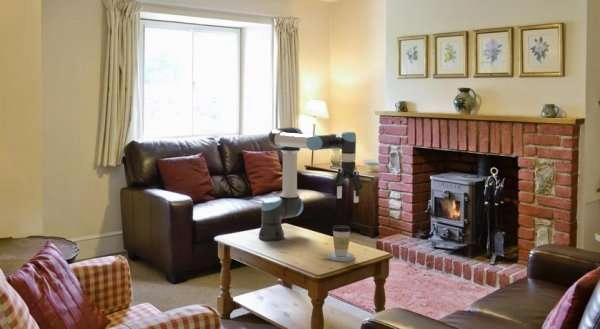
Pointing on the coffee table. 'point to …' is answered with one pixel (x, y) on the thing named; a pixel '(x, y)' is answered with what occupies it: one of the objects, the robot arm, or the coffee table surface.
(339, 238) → the coffee cup
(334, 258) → the saucer
